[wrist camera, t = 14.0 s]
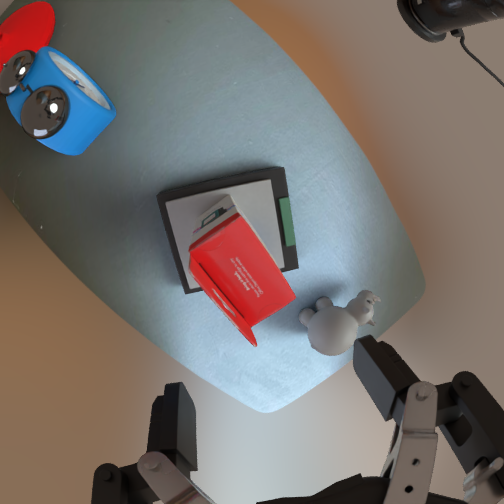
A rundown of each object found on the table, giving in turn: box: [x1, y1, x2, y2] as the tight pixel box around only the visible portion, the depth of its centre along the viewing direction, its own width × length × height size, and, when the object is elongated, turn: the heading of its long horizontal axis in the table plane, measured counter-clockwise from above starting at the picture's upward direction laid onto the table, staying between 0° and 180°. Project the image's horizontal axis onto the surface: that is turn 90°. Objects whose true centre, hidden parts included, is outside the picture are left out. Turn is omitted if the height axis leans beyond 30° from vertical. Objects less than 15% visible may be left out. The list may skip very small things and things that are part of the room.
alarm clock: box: [0, 46, 116, 155], centre depth 19 cm, size 13×6×15 cm, turn 39°
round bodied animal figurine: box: [299, 290, 381, 356], centre depth 37 cm, size 7×12×8 cm, turn 121°
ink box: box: [188, 195, 296, 347], centre depth 25 cm, size 8×5×15 cm, turn 33°
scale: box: [157, 167, 299, 294], centre depth 33 cm, size 15×13×3 cm
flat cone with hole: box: [0, 2, 55, 73], centre depth 16 cm, size 16×16×7 cm
